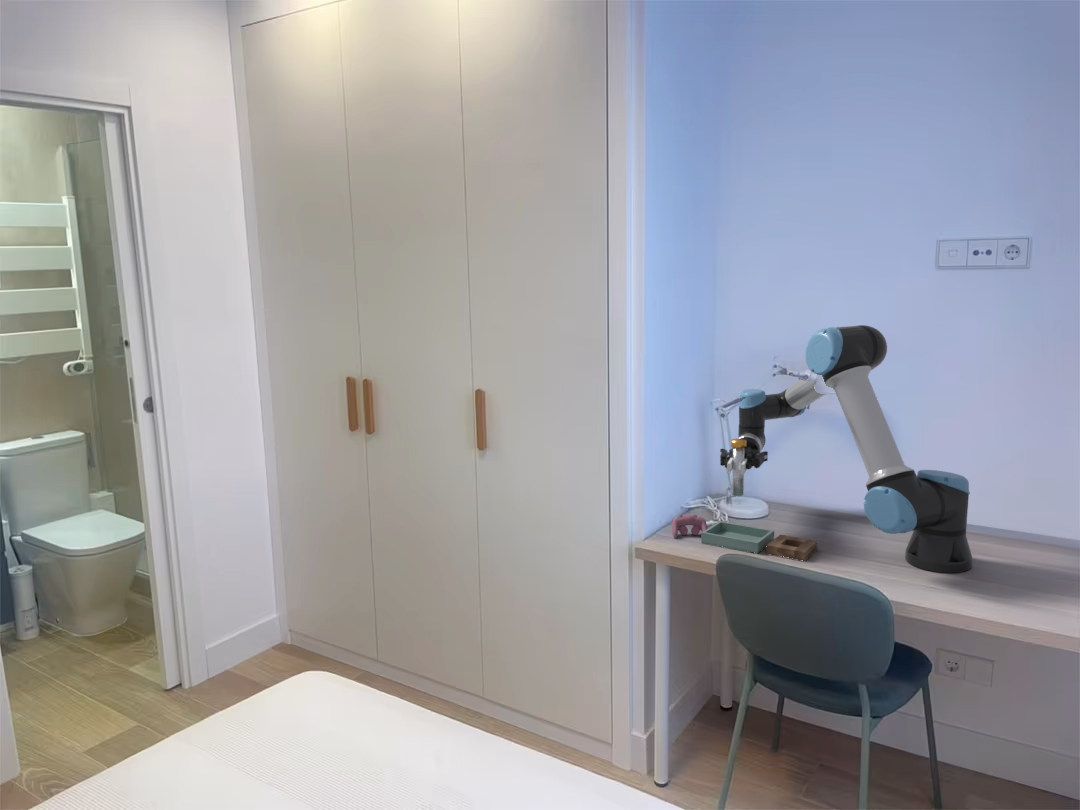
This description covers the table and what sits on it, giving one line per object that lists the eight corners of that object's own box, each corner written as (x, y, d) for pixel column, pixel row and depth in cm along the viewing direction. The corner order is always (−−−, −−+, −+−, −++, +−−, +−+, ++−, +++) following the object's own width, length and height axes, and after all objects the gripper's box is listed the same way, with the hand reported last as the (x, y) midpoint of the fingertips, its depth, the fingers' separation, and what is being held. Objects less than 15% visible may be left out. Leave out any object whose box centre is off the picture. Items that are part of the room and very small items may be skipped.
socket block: (817, 550, 217) (817, 541, 217) (804, 561, 209) (804, 552, 209) (780, 543, 223) (780, 534, 223) (766, 554, 215) (766, 545, 215)
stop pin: (747, 493, 223) (748, 439, 221) (741, 497, 220) (743, 442, 218) (733, 491, 226) (734, 438, 223) (727, 495, 222) (728, 440, 220)
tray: (774, 540, 225) (774, 530, 224) (757, 554, 215) (757, 543, 215) (719, 531, 234) (719, 520, 234) (701, 543, 225) (701, 532, 224)
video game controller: (706, 540, 232) (705, 515, 234) (708, 538, 228) (707, 512, 230) (671, 540, 233) (670, 515, 235) (672, 538, 228) (671, 512, 230)
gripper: (775, 463, 236) (766, 485, 214) (718, 459, 241) (704, 480, 220) (776, 438, 234) (767, 457, 213) (719, 434, 240) (705, 453, 219)
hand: (735, 468), depth 216 cm, fingers closed on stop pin, 3 cm apart
